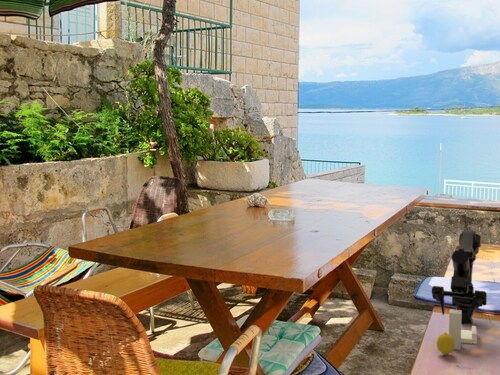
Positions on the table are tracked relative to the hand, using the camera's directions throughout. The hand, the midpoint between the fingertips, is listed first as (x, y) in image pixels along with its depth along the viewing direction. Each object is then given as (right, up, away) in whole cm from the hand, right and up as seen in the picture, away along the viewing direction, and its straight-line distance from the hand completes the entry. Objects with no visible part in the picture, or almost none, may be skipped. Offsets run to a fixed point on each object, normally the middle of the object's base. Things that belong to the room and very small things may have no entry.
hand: (456, 316), depth 213 cm
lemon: (-7, -12, -9) cm, 16 cm away
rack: (+5, -9, +6) cm, 12 cm away
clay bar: (-1, -11, -2) cm, 11 cm away
